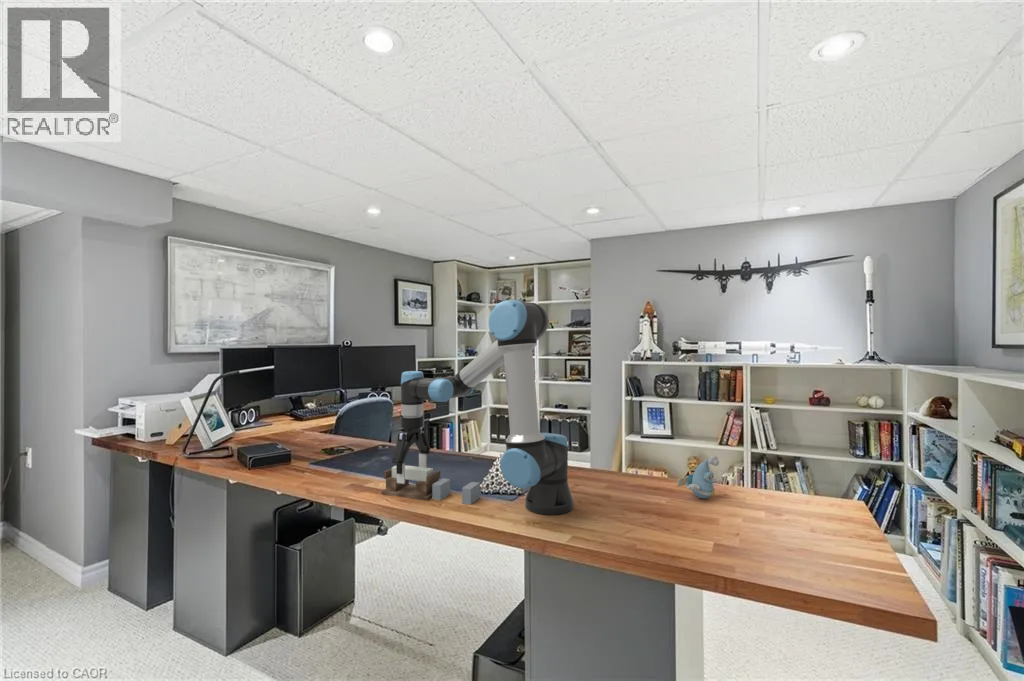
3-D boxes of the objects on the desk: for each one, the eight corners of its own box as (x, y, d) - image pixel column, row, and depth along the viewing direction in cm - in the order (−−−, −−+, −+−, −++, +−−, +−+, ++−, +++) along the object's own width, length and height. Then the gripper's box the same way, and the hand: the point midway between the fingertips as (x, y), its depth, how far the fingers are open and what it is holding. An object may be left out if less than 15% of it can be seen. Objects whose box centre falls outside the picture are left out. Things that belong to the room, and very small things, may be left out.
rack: (442, 491, 163) (442, 469, 163) (427, 500, 154) (427, 477, 154) (398, 485, 169) (398, 464, 169) (381, 493, 160) (381, 472, 160)
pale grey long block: (432, 478, 161) (432, 468, 161) (426, 481, 157) (426, 471, 157) (398, 474, 166) (398, 464, 166) (391, 477, 162) (391, 467, 162)
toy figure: (705, 508, 147) (705, 460, 147) (675, 499, 155) (675, 454, 155) (730, 496, 158) (730, 452, 158) (701, 488, 166) (701, 446, 166)
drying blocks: (479, 497, 156) (479, 482, 156) (470, 504, 150) (470, 489, 150) (442, 492, 161) (442, 478, 161) (432, 499, 155) (432, 484, 155)
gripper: (422, 410, 174) (422, 466, 175) (380, 421, 151) (380, 486, 151) (439, 411, 172) (439, 469, 172) (400, 422, 148) (400, 489, 149)
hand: (412, 477), depth 162 cm, fingers open, 13 cm apart
